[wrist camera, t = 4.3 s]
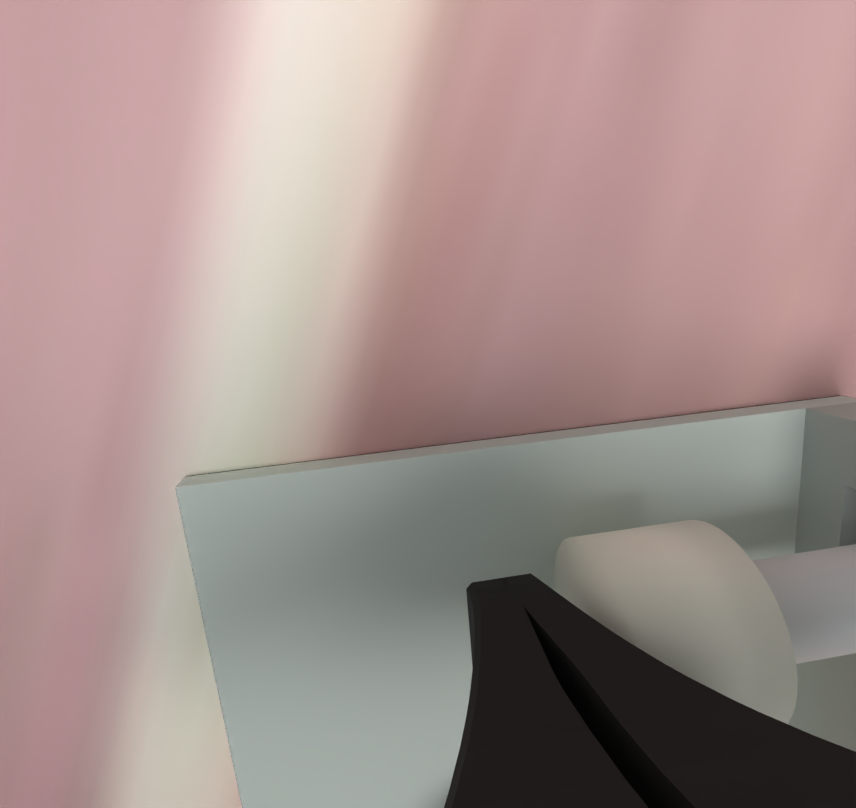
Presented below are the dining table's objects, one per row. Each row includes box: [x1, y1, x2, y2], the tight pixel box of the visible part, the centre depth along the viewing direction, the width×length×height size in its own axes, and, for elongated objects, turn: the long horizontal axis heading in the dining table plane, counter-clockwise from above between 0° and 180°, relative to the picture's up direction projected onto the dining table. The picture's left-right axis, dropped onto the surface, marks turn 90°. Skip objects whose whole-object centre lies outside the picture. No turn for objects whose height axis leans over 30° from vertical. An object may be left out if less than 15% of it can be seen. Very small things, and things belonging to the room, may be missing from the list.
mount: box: [175, 396, 856, 808], centre depth 10 cm, size 15×14×6 cm
